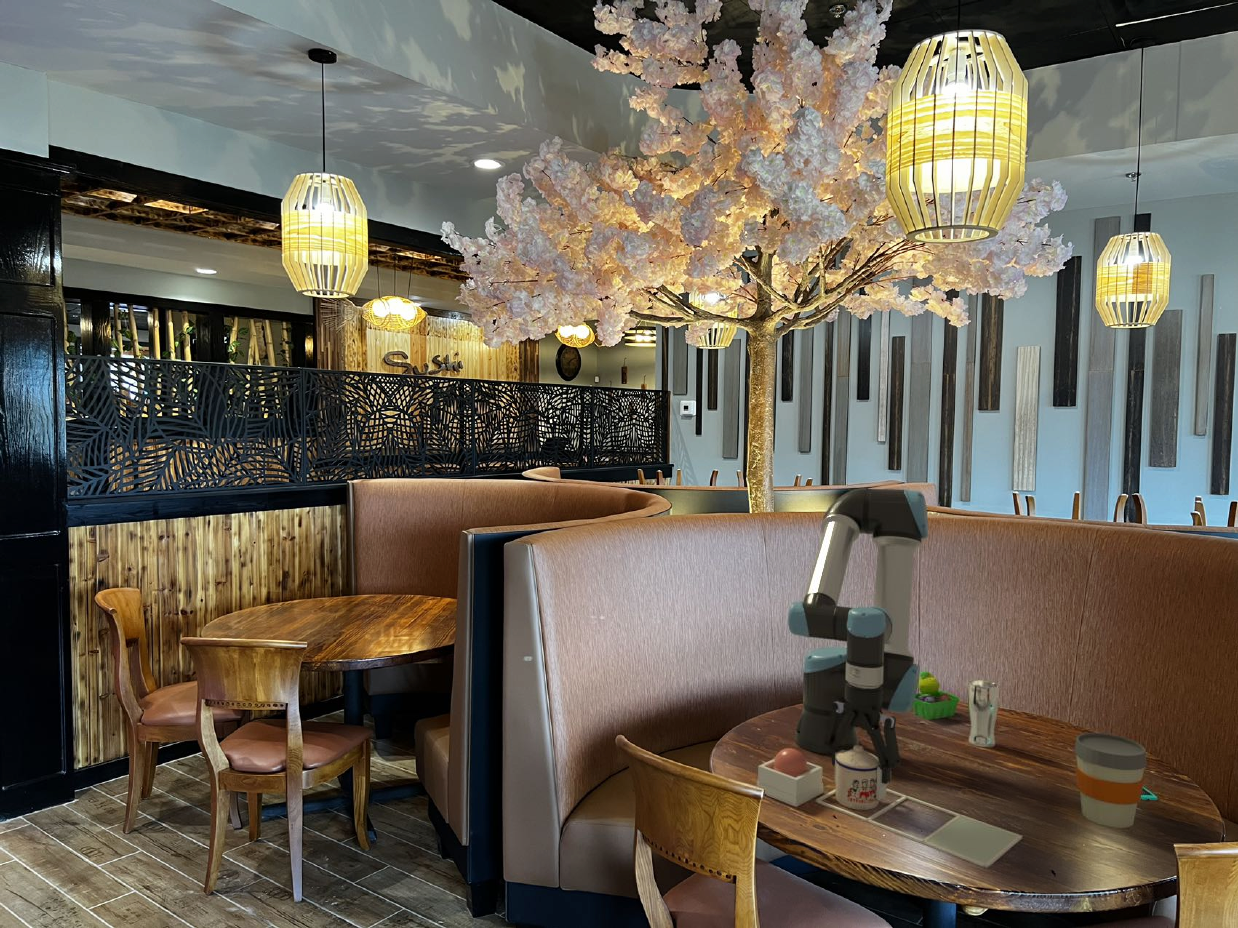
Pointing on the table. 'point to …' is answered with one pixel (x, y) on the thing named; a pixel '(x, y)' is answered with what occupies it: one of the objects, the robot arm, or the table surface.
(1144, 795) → the handheld game console
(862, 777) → the teacup with lid
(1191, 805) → the table surface
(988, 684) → the beer glass
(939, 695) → the fruit basket
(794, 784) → the grey square box
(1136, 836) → the table surface
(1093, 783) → the reusable coffee cup
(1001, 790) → the table surface
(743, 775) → the table surface
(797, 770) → the red ball
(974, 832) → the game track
